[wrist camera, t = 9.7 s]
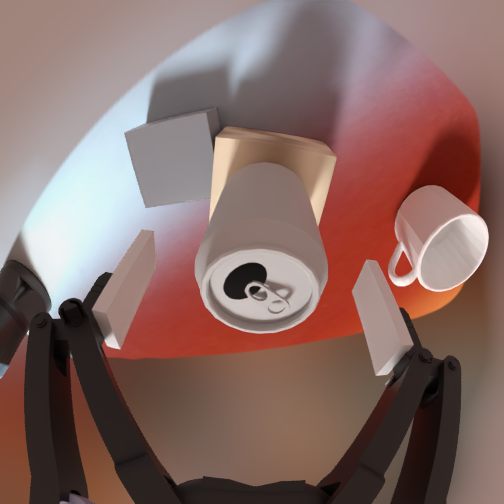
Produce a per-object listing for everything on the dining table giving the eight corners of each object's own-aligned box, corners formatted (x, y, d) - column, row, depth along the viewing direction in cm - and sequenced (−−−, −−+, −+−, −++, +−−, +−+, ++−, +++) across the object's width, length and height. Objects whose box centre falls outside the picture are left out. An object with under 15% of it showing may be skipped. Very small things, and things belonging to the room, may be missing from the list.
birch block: (218, 211, 31) (208, 239, 26) (226, 126, 25) (215, 137, 20) (303, 224, 31) (309, 254, 26) (323, 141, 25) (336, 156, 21)
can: (255, 141, 20) (239, 204, 11) (325, 193, 23) (362, 289, 13) (206, 208, 24) (165, 305, 14) (272, 249, 26) (271, 356, 17)
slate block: (162, 188, 30) (145, 207, 26) (145, 123, 25) (124, 132, 21) (229, 178, 29) (222, 197, 25) (217, 107, 24) (206, 112, 20)
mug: (448, 168, 25) (486, 197, 19) (460, 232, 30) (488, 267, 23) (360, 214, 30) (382, 254, 23) (384, 272, 35) (403, 315, 28)
